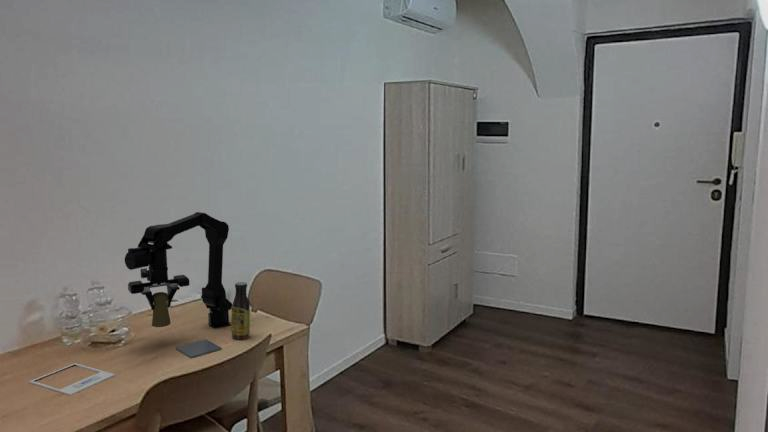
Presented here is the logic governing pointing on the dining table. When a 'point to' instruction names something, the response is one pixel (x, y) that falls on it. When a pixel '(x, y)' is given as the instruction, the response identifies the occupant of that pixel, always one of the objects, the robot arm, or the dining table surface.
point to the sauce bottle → (240, 312)
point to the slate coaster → (198, 348)
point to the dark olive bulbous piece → (160, 310)
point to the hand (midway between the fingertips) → (160, 308)
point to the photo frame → (80, 384)
